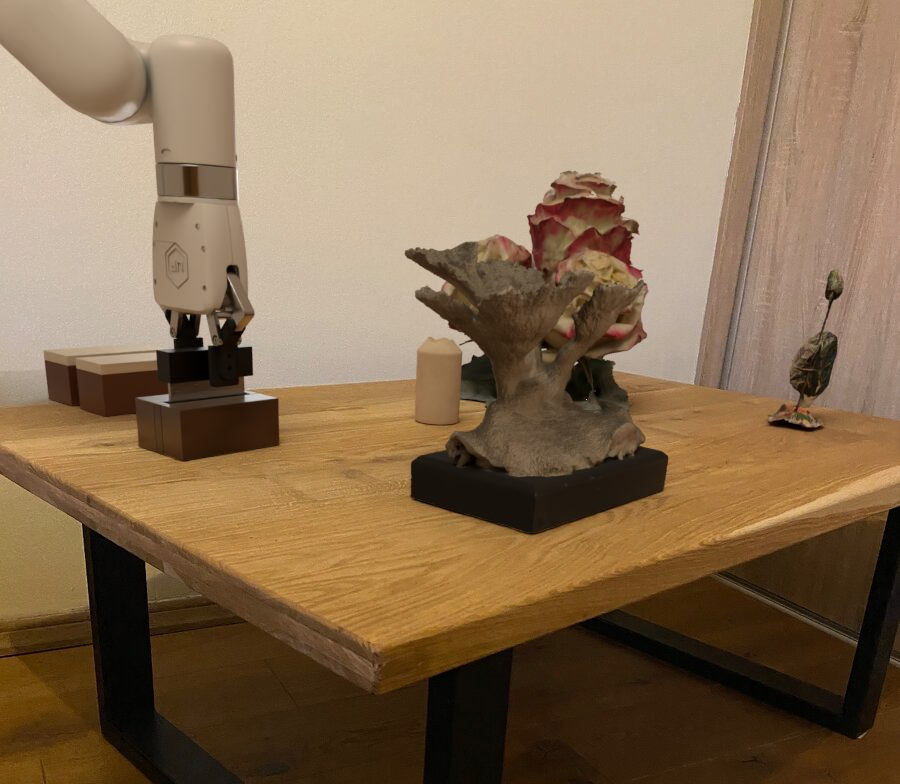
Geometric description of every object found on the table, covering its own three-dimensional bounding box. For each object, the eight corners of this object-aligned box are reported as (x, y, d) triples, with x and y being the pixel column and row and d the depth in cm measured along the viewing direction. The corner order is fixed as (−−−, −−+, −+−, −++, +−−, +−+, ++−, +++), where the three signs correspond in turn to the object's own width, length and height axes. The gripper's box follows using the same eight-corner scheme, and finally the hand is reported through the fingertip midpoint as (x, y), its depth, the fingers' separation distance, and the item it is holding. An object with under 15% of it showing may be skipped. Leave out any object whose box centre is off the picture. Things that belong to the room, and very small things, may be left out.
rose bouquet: (414, 394, 132) (422, 162, 121) (564, 383, 149) (583, 178, 138) (532, 429, 114) (555, 159, 102) (688, 412, 130) (723, 178, 119)
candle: (407, 421, 114) (410, 337, 110) (425, 414, 119) (428, 334, 115) (448, 427, 112) (452, 342, 109) (465, 419, 117) (469, 338, 113)
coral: (503, 545, 72) (525, 249, 64) (333, 488, 84) (333, 235, 76) (671, 492, 89) (705, 254, 81) (508, 451, 101) (524, 242, 93)
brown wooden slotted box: (183, 461, 91) (180, 410, 89) (138, 446, 96) (134, 397, 94) (279, 445, 99) (278, 398, 97) (234, 432, 104) (232, 387, 102)
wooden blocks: (105, 416, 108) (100, 364, 106) (48, 399, 116) (42, 350, 114) (206, 404, 118) (204, 356, 116) (147, 388, 126) (144, 343, 124)
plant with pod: (842, 423, 127) (875, 270, 120) (808, 433, 120) (840, 269, 112) (786, 414, 132) (814, 265, 125) (750, 422, 125) (777, 265, 117)
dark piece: (175, 454, 93) (168, 352, 89) (162, 450, 94) (155, 349, 91) (255, 441, 100) (252, 346, 96) (242, 437, 102) (239, 344, 98)
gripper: (113, 184, 90) (129, 373, 97) (218, 187, 80) (227, 398, 87) (180, 188, 96) (190, 368, 103) (286, 192, 86) (289, 390, 92)
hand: (207, 379), depth 95 cm, fingers open, 5 cm apart
